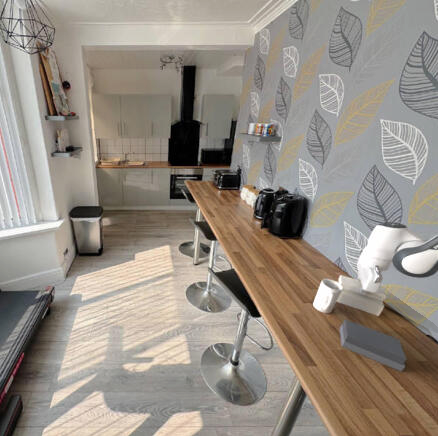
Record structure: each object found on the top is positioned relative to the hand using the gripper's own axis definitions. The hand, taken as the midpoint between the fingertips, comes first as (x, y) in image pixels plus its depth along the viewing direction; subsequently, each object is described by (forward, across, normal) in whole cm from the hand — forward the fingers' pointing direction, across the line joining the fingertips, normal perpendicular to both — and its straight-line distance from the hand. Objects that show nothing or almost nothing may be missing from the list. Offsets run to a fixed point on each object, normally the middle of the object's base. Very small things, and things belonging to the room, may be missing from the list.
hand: (360, 288), depth 98 cm
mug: (+7, -14, +12) cm, 20 cm away
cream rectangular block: (+1, 0, 0) cm, 1 cm away
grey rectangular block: (+7, -26, -1) cm, 27 cm away
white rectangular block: (+7, 0, 0) cm, 7 cm away
